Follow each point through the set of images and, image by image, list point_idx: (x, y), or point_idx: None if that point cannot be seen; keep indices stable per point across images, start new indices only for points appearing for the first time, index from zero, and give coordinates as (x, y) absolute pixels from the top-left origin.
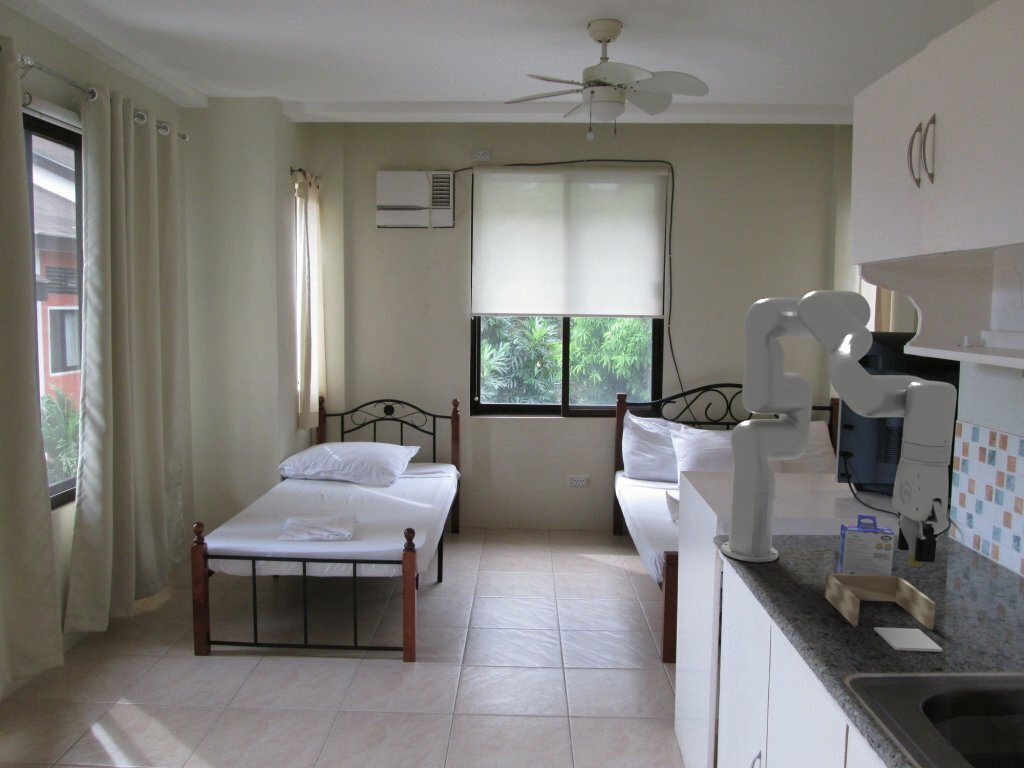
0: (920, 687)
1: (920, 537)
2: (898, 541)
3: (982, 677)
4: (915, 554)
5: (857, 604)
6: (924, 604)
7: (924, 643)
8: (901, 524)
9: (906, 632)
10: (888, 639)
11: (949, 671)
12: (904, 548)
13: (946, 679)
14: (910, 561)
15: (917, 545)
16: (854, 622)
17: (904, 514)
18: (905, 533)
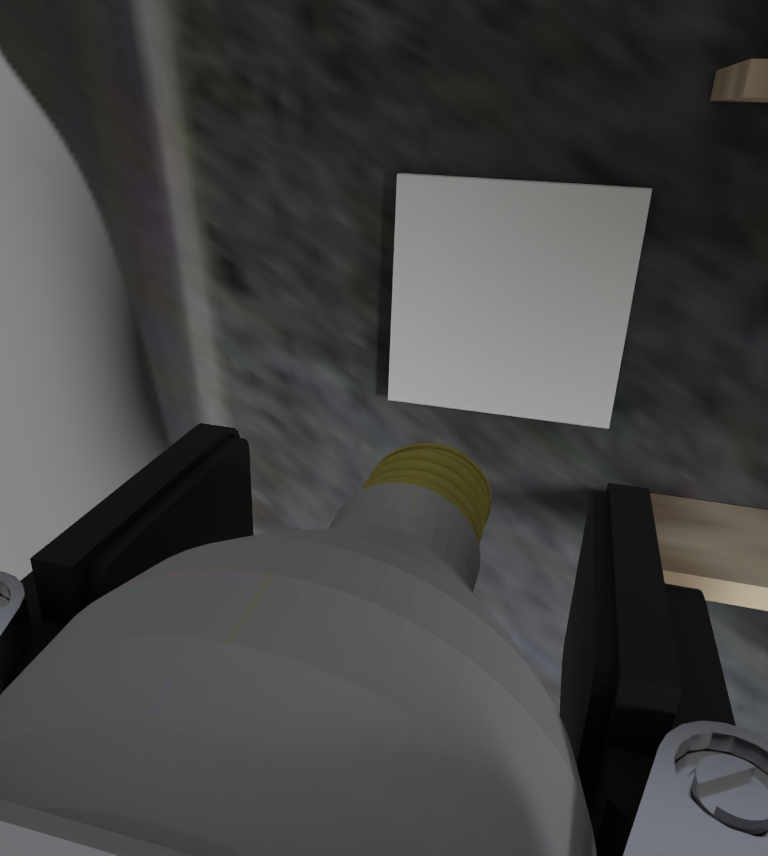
0: (60, 87)
1: (16, 603)
2: (642, 531)
3: (187, 408)
4: (190, 449)
5: (741, 81)
6: (710, 557)
7: (441, 352)
8: (355, 635)
9: (569, 339)
10: (487, 185)
11: (217, 309)
12: (584, 540)
13: (148, 251)
14: (403, 452)
15: (98, 507)
16: (720, 76)
17: (14, 844)
18: (261, 539)
